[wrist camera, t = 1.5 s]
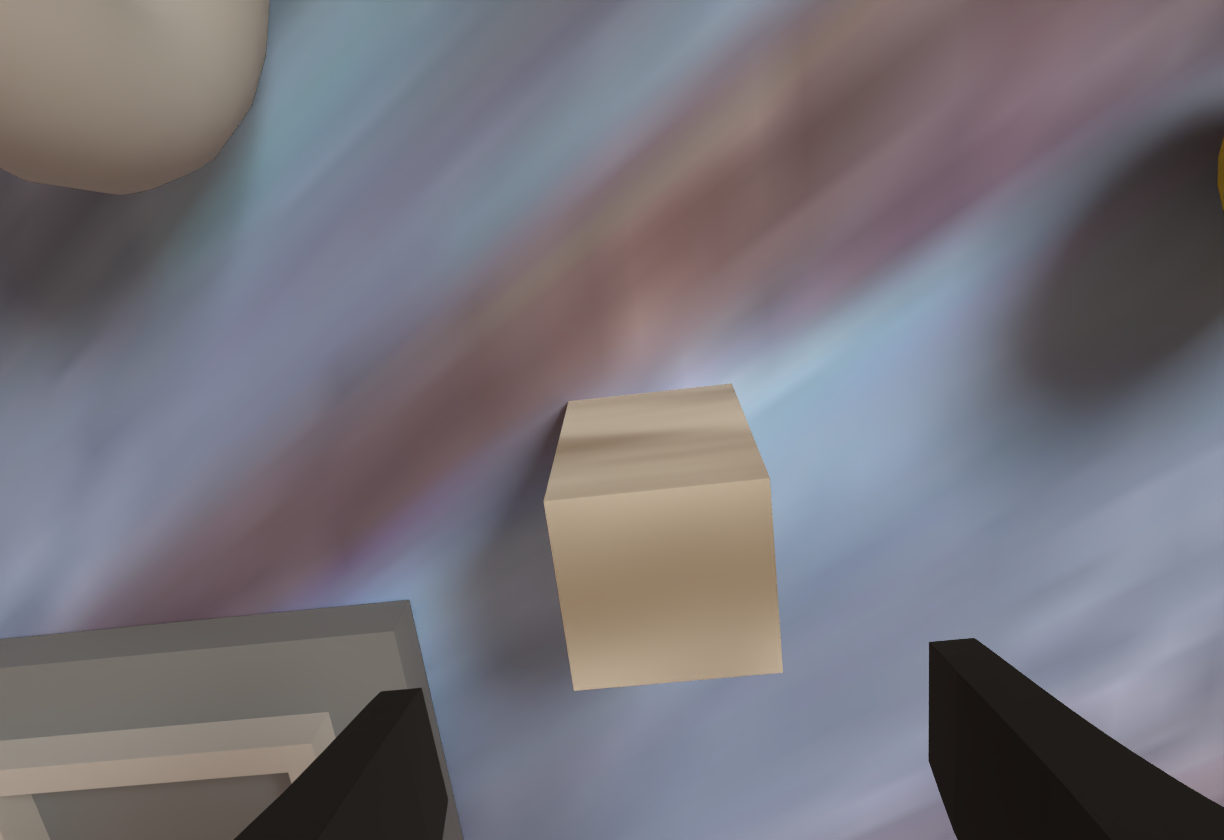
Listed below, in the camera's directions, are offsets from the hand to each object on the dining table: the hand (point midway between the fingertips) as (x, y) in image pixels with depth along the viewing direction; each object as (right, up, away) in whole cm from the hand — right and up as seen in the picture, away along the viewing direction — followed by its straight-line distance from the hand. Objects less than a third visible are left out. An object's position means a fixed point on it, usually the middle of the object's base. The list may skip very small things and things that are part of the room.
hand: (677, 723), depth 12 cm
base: (-12, -8, +13) cm, 20 cm away
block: (0, +3, +9) cm, 10 cm away
